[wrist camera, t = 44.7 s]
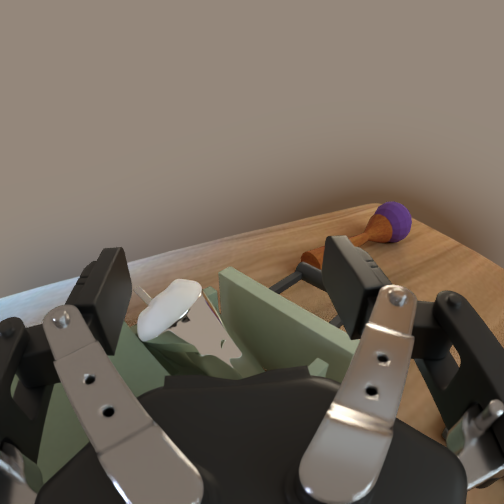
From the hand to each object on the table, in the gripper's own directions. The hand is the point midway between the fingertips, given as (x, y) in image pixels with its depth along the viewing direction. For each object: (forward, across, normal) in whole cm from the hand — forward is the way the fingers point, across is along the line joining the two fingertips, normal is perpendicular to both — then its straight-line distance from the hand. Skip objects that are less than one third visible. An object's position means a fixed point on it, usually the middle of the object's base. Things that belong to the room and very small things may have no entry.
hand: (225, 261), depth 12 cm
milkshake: (+1, -1, +11) cm, 11 cm away
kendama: (+23, -19, +14) cm, 33 cm away
